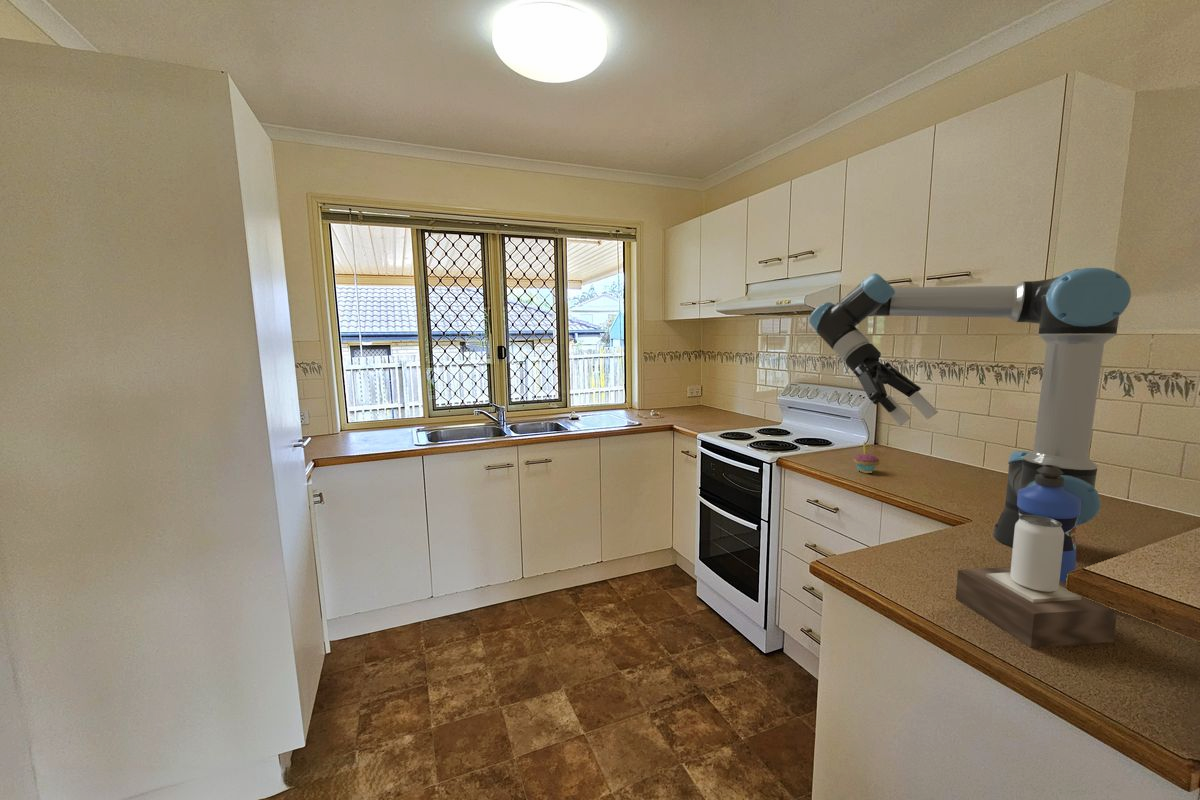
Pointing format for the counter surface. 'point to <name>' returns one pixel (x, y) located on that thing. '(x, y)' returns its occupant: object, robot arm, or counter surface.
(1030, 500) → the water bottle
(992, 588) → the riser
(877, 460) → the cupcake
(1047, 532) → the can
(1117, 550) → the counter surface
